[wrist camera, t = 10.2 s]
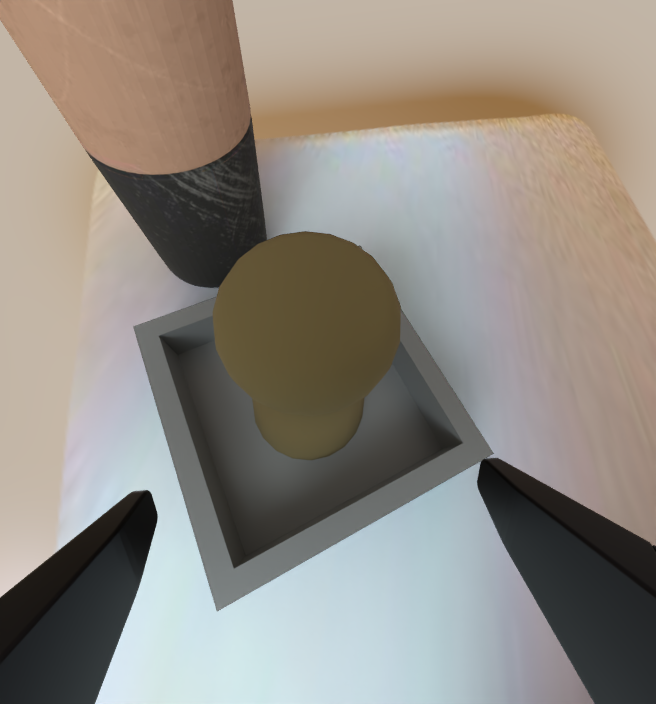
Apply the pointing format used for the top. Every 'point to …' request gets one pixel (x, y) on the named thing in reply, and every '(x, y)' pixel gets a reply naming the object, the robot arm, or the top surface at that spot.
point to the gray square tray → (285, 472)
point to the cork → (307, 337)
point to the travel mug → (156, 117)
